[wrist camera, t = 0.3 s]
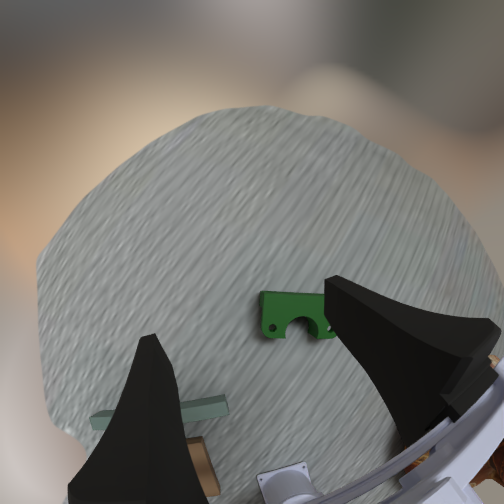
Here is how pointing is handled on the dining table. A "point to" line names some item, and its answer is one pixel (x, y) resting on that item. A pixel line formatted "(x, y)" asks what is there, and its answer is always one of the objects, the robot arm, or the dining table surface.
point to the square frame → (203, 466)
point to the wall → (189, 411)
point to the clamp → (293, 313)
